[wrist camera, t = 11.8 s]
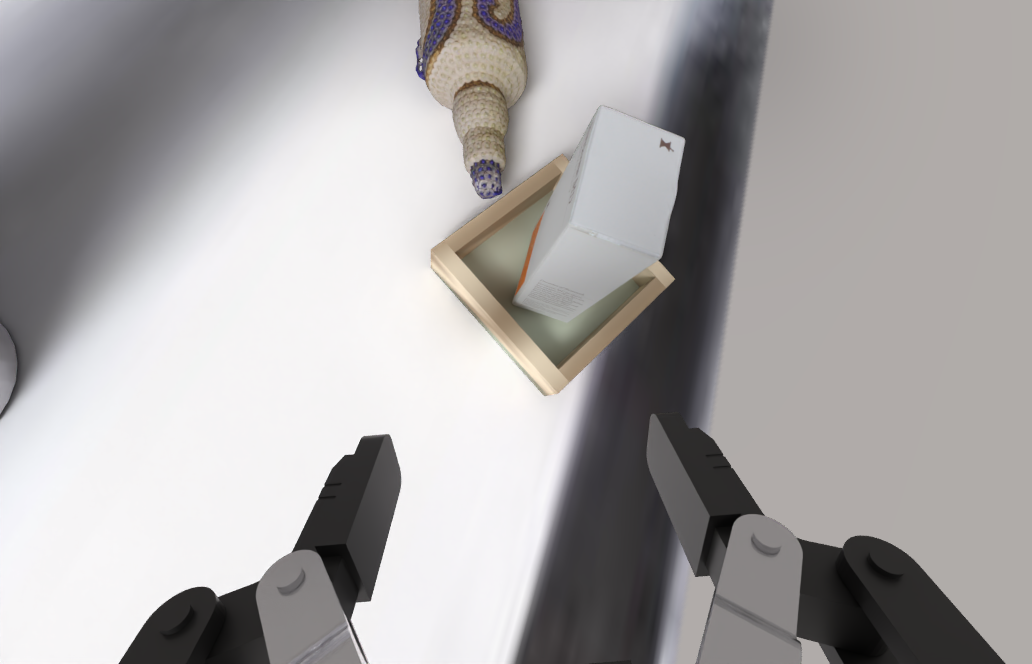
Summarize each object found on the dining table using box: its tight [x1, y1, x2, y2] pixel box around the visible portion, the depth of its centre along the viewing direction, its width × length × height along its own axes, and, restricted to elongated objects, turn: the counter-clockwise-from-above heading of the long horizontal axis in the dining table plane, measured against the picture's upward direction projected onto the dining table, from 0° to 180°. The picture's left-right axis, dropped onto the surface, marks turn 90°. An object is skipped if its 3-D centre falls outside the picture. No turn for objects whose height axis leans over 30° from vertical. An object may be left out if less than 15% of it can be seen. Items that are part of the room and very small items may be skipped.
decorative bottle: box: [416, 0, 528, 199], centre depth 28 cm, size 26×8×7 cm, turn 5°
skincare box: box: [512, 105, 685, 323], centre depth 22 cm, size 6×4×12 cm
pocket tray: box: [431, 154, 675, 396], centre depth 27 cm, size 12×12×3 cm
